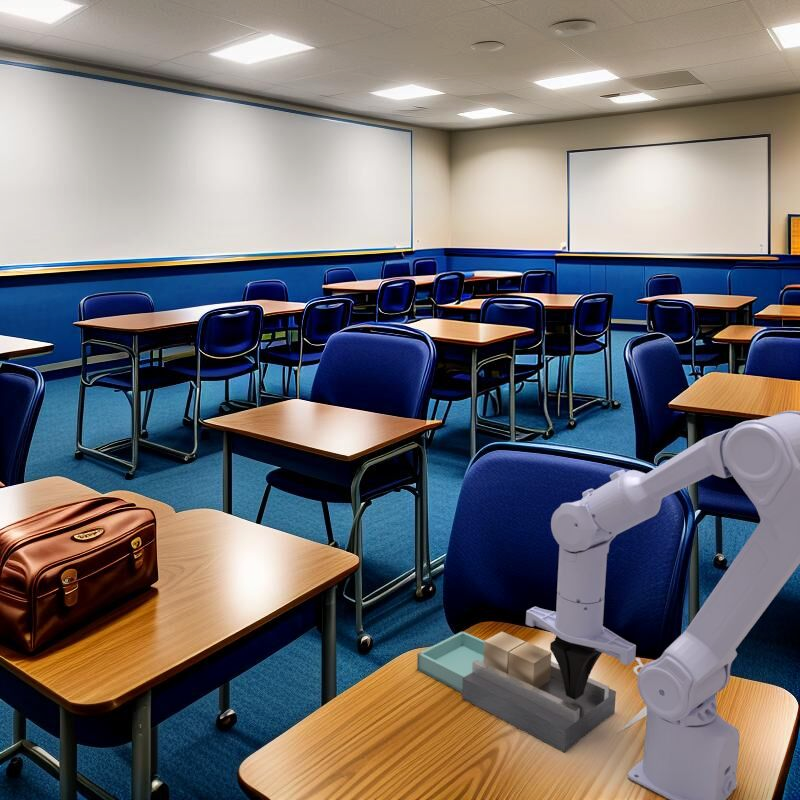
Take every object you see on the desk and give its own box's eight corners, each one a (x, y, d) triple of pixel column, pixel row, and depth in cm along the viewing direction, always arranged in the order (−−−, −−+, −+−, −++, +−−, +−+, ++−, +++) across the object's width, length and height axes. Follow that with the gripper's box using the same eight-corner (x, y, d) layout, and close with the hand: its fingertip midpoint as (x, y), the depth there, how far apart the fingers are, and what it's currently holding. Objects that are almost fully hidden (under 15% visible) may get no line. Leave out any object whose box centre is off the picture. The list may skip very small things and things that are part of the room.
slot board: (614, 712, 97) (616, 680, 97) (564, 752, 89) (566, 718, 88) (515, 666, 108) (516, 637, 108) (462, 698, 100) (463, 667, 99)
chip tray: (509, 668, 108) (510, 652, 108) (465, 694, 101) (465, 677, 101) (461, 646, 114) (462, 631, 114) (417, 669, 107) (417, 653, 107)
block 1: (524, 668, 102) (525, 641, 102) (506, 679, 99) (507, 651, 99) (500, 657, 105) (501, 631, 104) (483, 668, 102) (484, 640, 101)
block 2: (550, 680, 99) (551, 652, 99) (532, 691, 96) (534, 663, 96) (525, 669, 102) (526, 641, 101) (507, 679, 99) (508, 652, 99)
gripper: (650, 602, 90) (643, 705, 92) (549, 568, 100) (544, 662, 102) (621, 621, 85) (614, 729, 87) (518, 583, 95) (513, 681, 97)
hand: (574, 694), depth 94 cm, fingers closed
